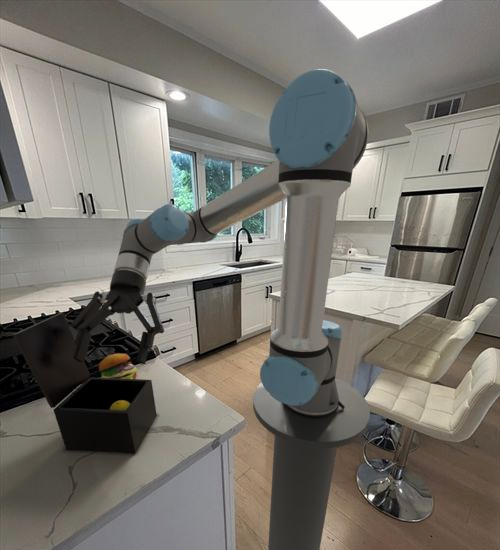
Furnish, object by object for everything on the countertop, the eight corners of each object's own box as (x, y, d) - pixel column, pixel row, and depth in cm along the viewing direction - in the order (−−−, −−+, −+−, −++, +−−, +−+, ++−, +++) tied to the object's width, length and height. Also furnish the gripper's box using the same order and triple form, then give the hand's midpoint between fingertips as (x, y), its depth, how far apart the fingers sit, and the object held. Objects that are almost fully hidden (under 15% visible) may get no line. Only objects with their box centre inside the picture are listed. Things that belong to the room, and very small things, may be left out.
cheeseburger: (114, 394, 80) (103, 362, 77) (98, 389, 86) (87, 359, 84) (145, 378, 87) (135, 349, 85) (128, 375, 94) (119, 347, 91)
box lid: (63, 312, 62) (59, 313, 62) (15, 334, 50) (12, 334, 50) (90, 375, 68) (87, 375, 68) (54, 407, 56) (50, 408, 56)
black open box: (156, 415, 72) (151, 379, 67) (135, 453, 60) (127, 413, 56) (98, 412, 72) (89, 377, 68) (66, 450, 61) (53, 409, 56)
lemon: (132, 418, 69) (127, 391, 66) (140, 430, 65) (135, 402, 62) (109, 427, 66) (102, 399, 63) (115, 441, 62) (108, 412, 59)
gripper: (184, 286, 70) (172, 367, 62) (88, 284, 71) (64, 364, 63) (176, 268, 63) (161, 357, 55) (70, 267, 64) (40, 354, 56)
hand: (109, 361), depth 59 cm, fingers open, 13 cm apart
